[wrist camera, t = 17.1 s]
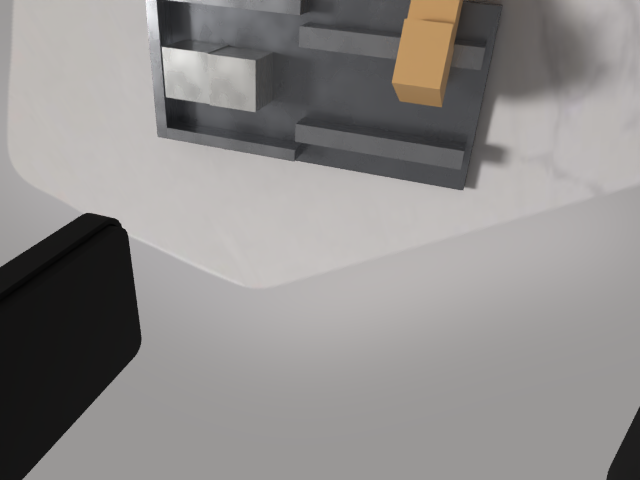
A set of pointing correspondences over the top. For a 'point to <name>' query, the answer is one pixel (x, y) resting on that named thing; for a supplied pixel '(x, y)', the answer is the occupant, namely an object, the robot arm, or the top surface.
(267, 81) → the grey cube
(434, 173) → the slot board
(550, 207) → the top surface
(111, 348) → the robot arm
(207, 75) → the chip
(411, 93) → the tan stepped beam
